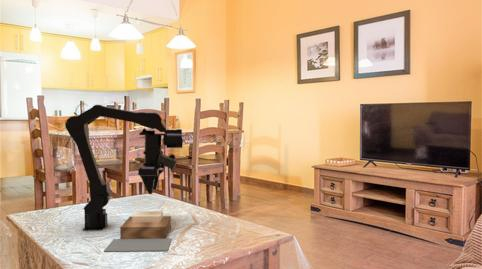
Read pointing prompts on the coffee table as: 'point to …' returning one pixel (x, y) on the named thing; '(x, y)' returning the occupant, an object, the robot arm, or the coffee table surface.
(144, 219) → the cream rectangular block
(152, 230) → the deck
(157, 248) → the mat
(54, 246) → the coffee table surface
